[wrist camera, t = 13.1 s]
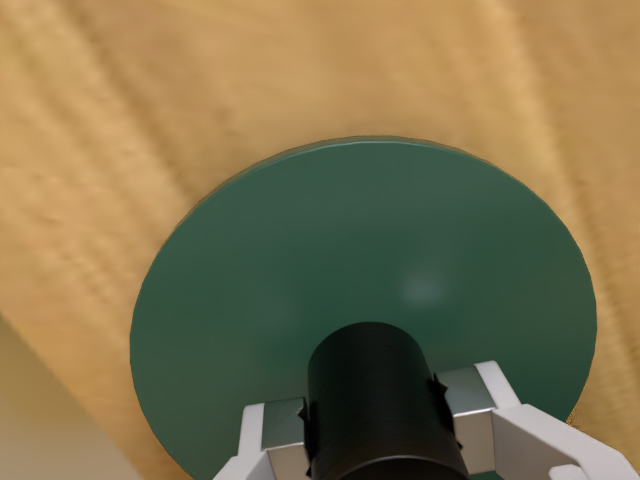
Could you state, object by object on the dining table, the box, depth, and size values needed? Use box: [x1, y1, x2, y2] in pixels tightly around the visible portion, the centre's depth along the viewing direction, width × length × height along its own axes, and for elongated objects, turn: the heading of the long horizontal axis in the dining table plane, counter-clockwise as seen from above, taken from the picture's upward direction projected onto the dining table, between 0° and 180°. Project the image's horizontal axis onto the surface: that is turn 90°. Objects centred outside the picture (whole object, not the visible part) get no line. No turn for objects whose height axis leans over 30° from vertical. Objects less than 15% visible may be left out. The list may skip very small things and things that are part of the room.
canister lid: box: [130, 136, 597, 480], centre depth 12 cm, size 13×13×6 cm
